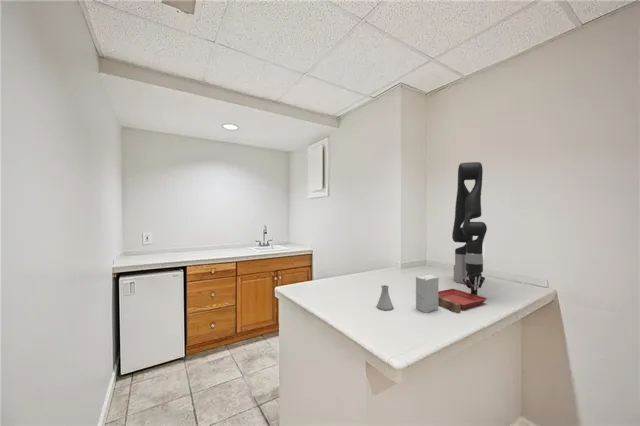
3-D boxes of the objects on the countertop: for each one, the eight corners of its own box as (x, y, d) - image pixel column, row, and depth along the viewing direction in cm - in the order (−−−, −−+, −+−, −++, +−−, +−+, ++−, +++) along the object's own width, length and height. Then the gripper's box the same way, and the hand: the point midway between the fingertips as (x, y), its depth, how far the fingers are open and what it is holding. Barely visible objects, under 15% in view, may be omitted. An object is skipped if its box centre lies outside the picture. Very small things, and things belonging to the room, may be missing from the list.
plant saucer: (452, 294, 142) (452, 287, 142) (487, 304, 126) (487, 297, 126) (429, 300, 133) (429, 293, 133) (463, 312, 117) (463, 304, 117)
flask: (384, 312, 118) (384, 289, 117) (373, 306, 124) (373, 285, 124) (396, 309, 121) (396, 287, 121) (385, 304, 127) (385, 283, 127)
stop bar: (422, 298, 134) (422, 291, 134) (426, 298, 135) (426, 290, 135) (456, 313, 116) (456, 304, 116) (460, 312, 117) (460, 303, 117)
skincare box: (428, 305, 124) (428, 273, 124) (439, 310, 119) (439, 276, 119) (415, 308, 121) (414, 275, 121) (425, 313, 115) (425, 279, 115)
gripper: (476, 259, 139) (476, 292, 140) (457, 261, 134) (457, 296, 135) (490, 262, 132) (490, 297, 133) (471, 264, 127) (471, 301, 128)
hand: (474, 296), depth 134 cm, fingers closed
